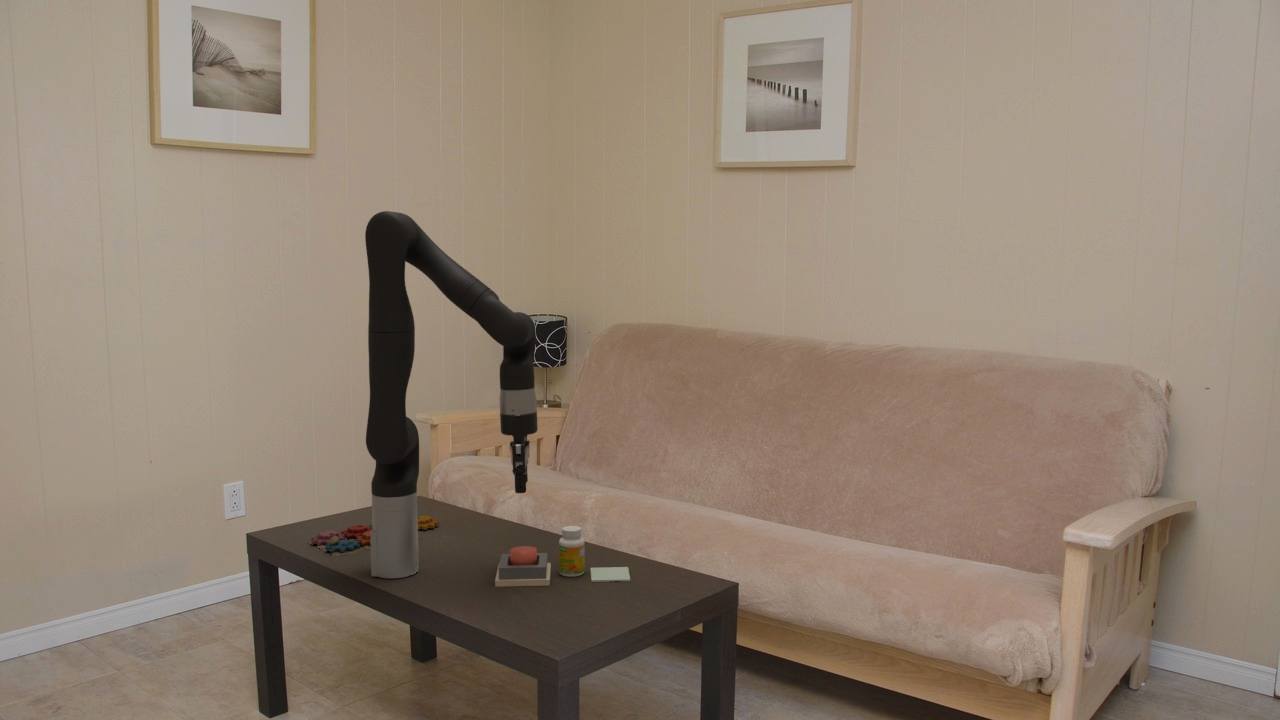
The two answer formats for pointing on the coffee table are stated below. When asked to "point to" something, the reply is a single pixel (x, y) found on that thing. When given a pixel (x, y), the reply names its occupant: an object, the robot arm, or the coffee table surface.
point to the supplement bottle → (571, 552)
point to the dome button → (523, 555)
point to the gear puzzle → (358, 537)
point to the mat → (610, 574)
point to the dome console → (523, 572)
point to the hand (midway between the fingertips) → (521, 487)
